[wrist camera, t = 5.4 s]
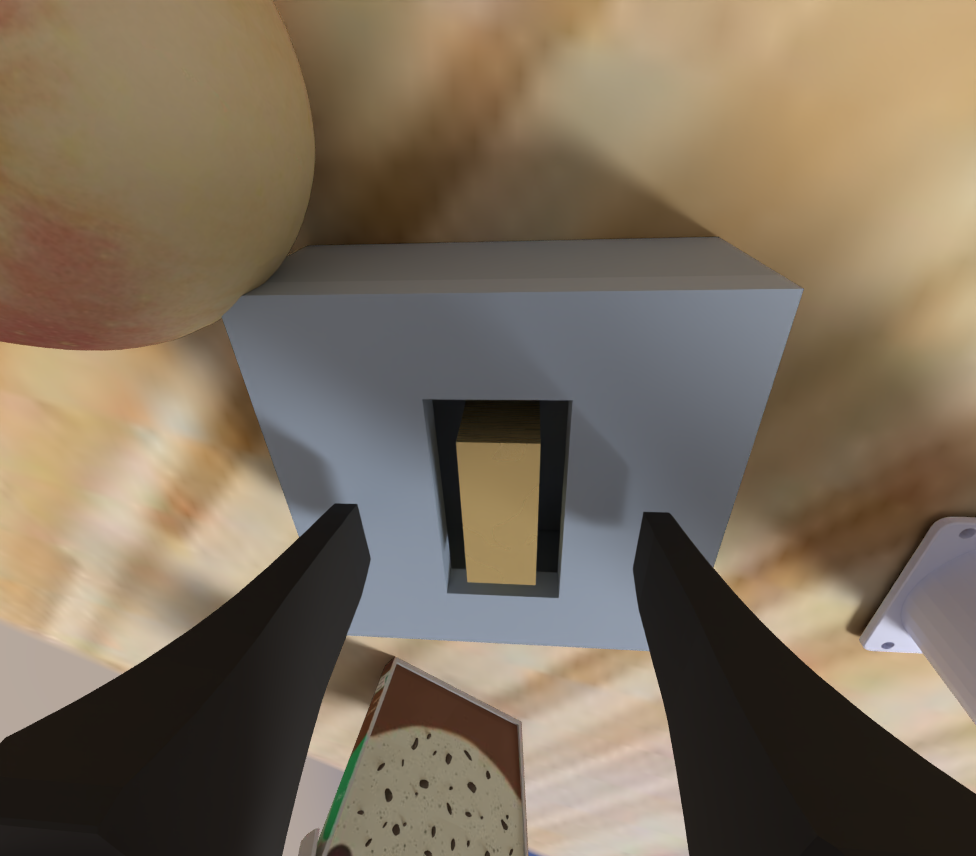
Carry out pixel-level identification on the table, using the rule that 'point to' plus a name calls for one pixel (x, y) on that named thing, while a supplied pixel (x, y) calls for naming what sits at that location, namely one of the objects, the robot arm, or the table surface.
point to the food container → (428, 776)
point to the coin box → (514, 376)
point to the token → (500, 489)
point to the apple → (144, 165)
